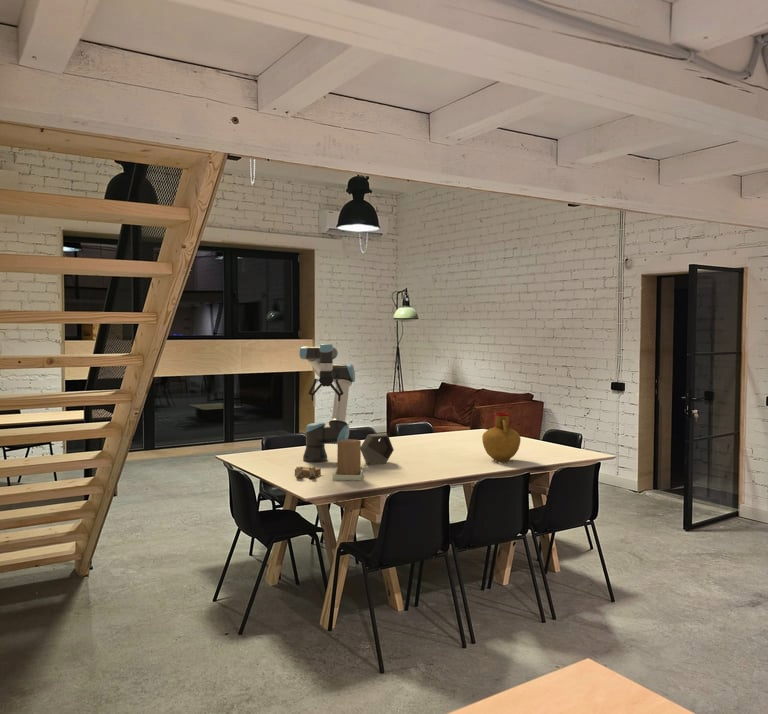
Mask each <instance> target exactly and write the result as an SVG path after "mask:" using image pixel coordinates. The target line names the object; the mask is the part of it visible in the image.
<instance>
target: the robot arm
mask: <svg viewBox="0 0 768 714" xmlns="http://www.w3.org/2000/svg"><path fill="white" fill-rule="evenodd" d="M338 354H339V351H338V349H337V348H336V347H334V346H333V344H332V343H321V344H320V346H301V347H300V349H299V357H300V359H302V360H307V361H308V363H309V364H310V365H311V367H312V368H313V369H314V373H315V375H317V377H319V378H314V380H313V384H312V385H311V387H310V389H309V391H308V395H311V401H312V402H313V405H312V406H313V408H315V407H316V395H315V394H316V393H317V392H318V391H319V390H320V389H321V388H322V387H328V388H329V387H330V388H331V389H333V391H334V399H333V407H332V408H333V409H332V415H331V420H329V422H328V424H325V422H322V421H321V422H320V421H319V422H312V423H309V424H307V425H306V428H305V449H304V453H303V455H302V460H303V461H304V462H309V463H318V462H319V463H321V462H326V461H328V454H327V451H326V448H325V447H326V445H329V444H331V445H338V441H341V440H345V439H349V436H350V427H349V425H348V423H347V421H346V419H347V418H346V417H347V409H348V400H349V392H350V387H351V386H353V385H352V383H355V382H356V370H355V366H354V365H353V364H351V363H334V362H333V360H335V359H336V358H337V357H338V356H339V355H338ZM318 382H319V385H318V386H317V387H316V389H314V388H315V386H316V384H317V383H318ZM333 383H334V384H333ZM334 385H335V386H334ZM325 444H326V445H325Z"/></svg>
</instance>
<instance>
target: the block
mask: <svg viewBox="0 0 768 714" xmlns="http://www.w3.org/2000/svg"><path fill="white" fill-rule="evenodd" d="M361 442H362V441H361V440H360V439H353V438H352V439H351V438H348V439H345V440H341V441H338V444H337V451H336V452H337V455H336V456H337V459H336V461H337V462H336V463H337V464H336V465H337V468H336V469H337V475H360V472H361V470H362V469H361V461H362V459H361V455H362V454H361V453H362V452H361V445H362V443H361Z"/></svg>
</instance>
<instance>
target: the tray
mask: <svg viewBox="0 0 768 714" xmlns="http://www.w3.org/2000/svg"><path fill="white" fill-rule="evenodd" d="M363 471H364V469H361V472H360V475H337V468H335V470H334V472H333V474H332V481H334V480H351V481H350V482H361V481H362V479H361V478H363V476H364V472H363Z"/></svg>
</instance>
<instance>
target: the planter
mask: <svg viewBox="0 0 768 714" xmlns="http://www.w3.org/2000/svg"><path fill="white" fill-rule="evenodd" d="M394 450H395V449H394V447H393V445H392V441H391V439H390V437H389V435H387V434H385V433H373V434H372V433H370V434H367V435H366V437H365V439H364V441H363V442H362V443H361V453H362V454H361V455H362V456H363V459H364V461H365V463H366V464H368V465H370V466H375V465H376V466H377V465H386V464H387V463H388V461H389V459H390V457H391V455H392V454H393V453H394Z"/></svg>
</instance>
